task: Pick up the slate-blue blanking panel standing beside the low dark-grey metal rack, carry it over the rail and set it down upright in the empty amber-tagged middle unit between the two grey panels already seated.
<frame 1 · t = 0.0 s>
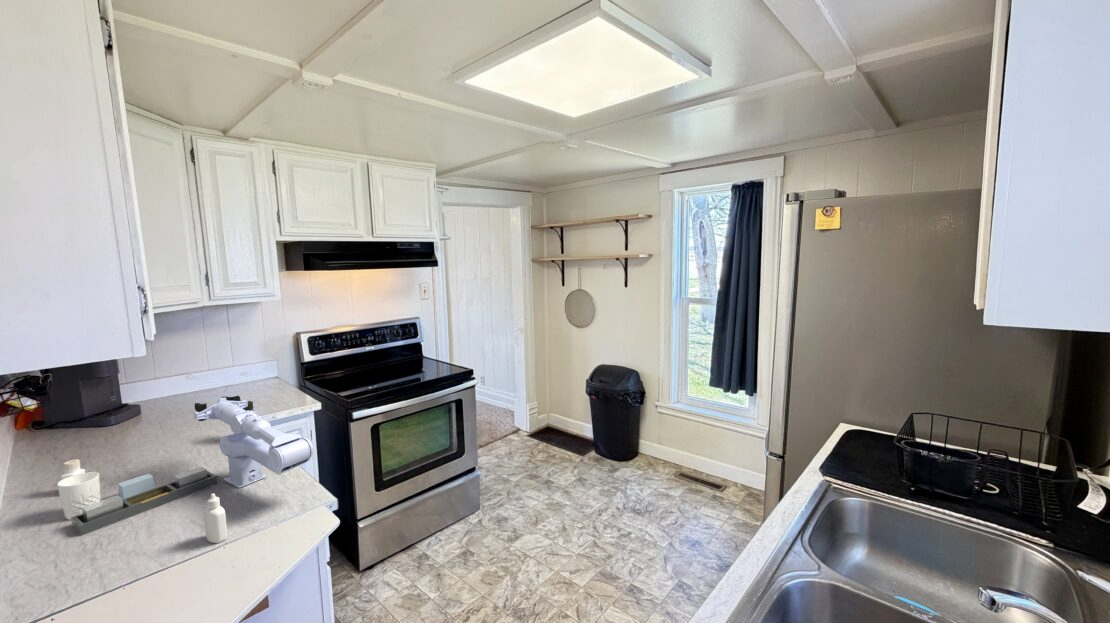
hand: (209, 402, 150), 22 cm above the countertop, tool horizontal, fingers open, 7 cm apart
eye dropper bottle: (216, 539, 113), on the countertop
salt shaker: (75, 492, 134), on the countertop
deodorant: (246, 441, 171), on the countertop
panel: (137, 494, 133), on the countertop
white cup: (83, 513, 124), on the countertop
rack: (151, 503, 129), on the countertop
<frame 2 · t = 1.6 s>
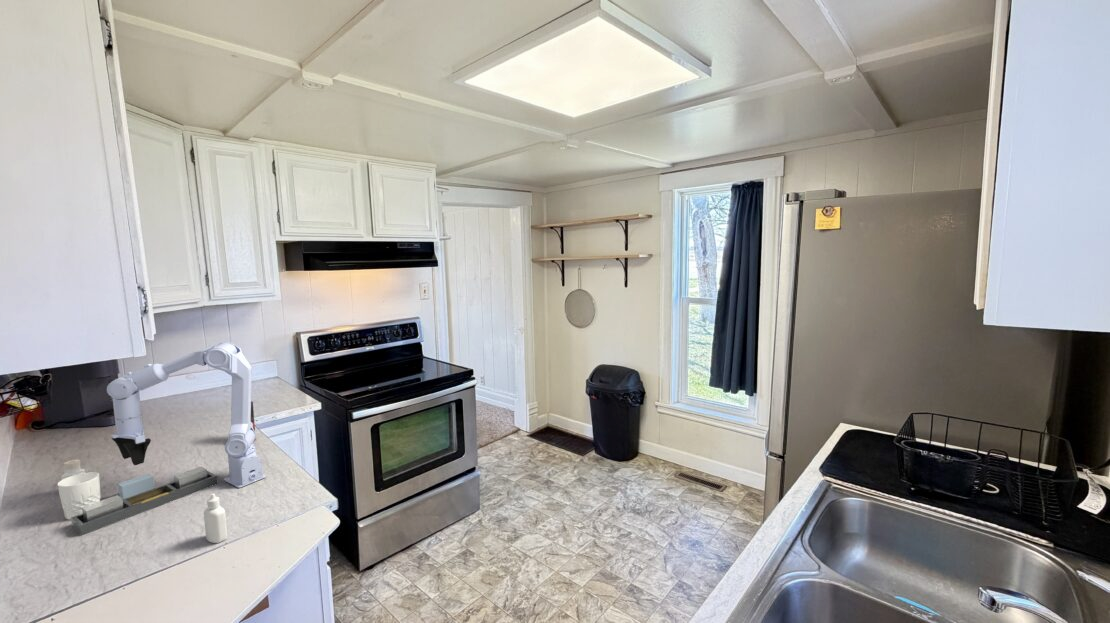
hand: (133, 460, 132), 10 cm above the countertop, tool pointing down, fingers open, 7 cm apart
nothing on the countertop moved.
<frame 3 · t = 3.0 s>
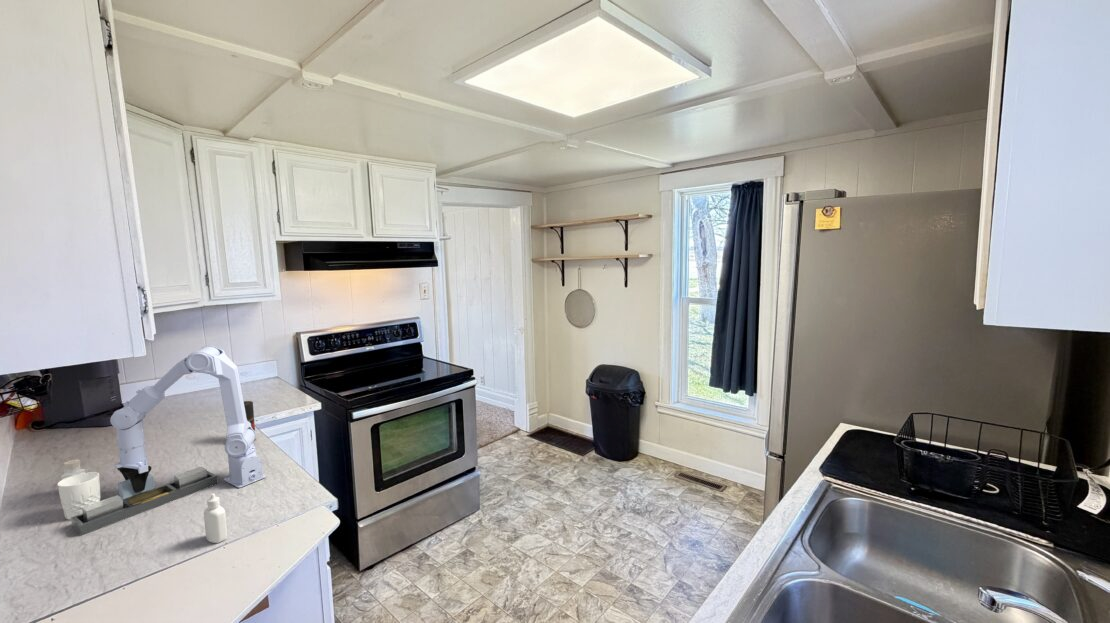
hand: (136, 489, 133), 1 cm above the countertop, tool pointing down, fingers closed on panel, 4 cm apart
panel: (137, 493, 133), on the countertop, touching gripper
everything else where it was.
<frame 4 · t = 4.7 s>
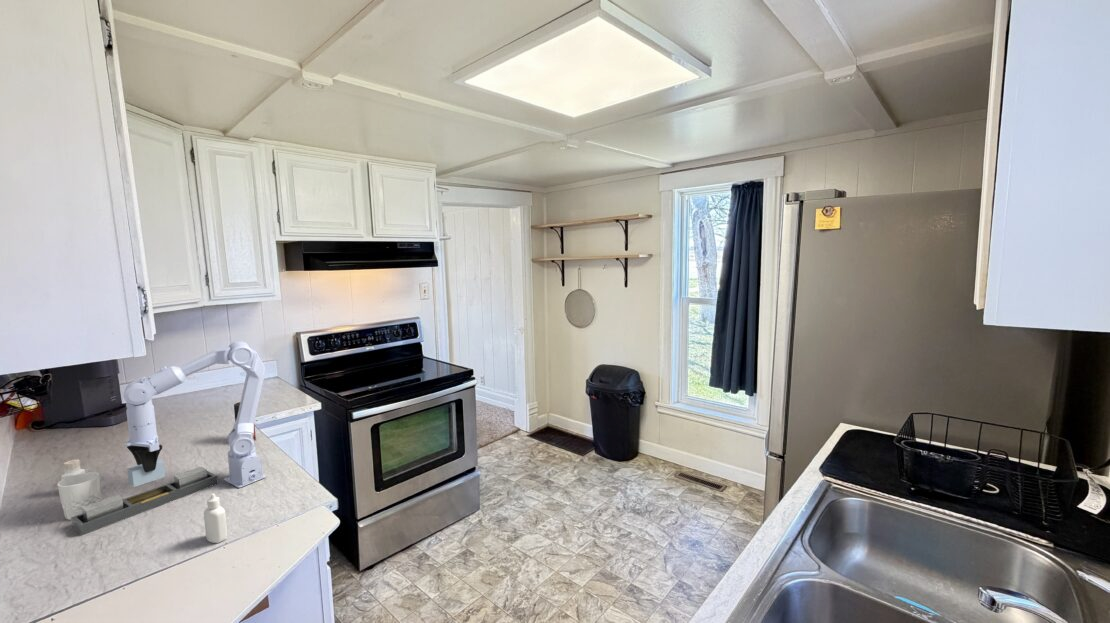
hand: (147, 469, 127), 10 cm above the countertop, tool pointing down, fingers closed on panel, 3 cm apart
panel: (147, 480, 128), point 7 cm above the countertop, touching gripper
everything else where it was.
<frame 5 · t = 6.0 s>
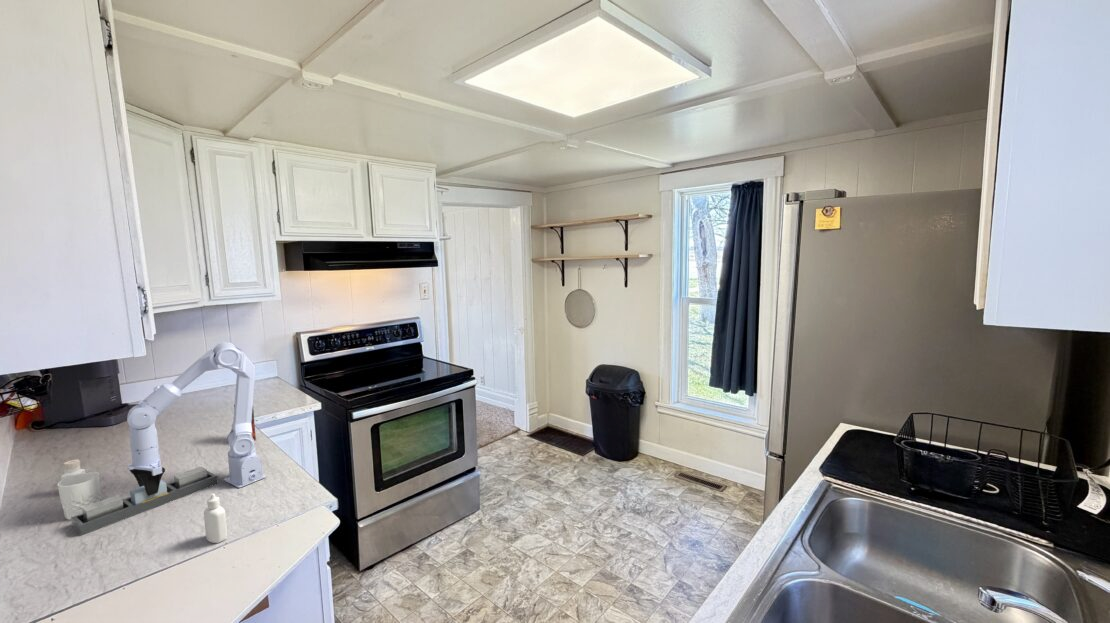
hand: (149, 491, 128), 4 cm above the countertop, tool pointing down, fingers closed on panel, 3 cm apart
panel: (149, 501, 128), point 1 cm above the countertop, touching gripper, rack
everything else where it was.
when the fingers open (3 cm above the countertop, at t = 6.5 s): panel stays where it is, resting on rack.
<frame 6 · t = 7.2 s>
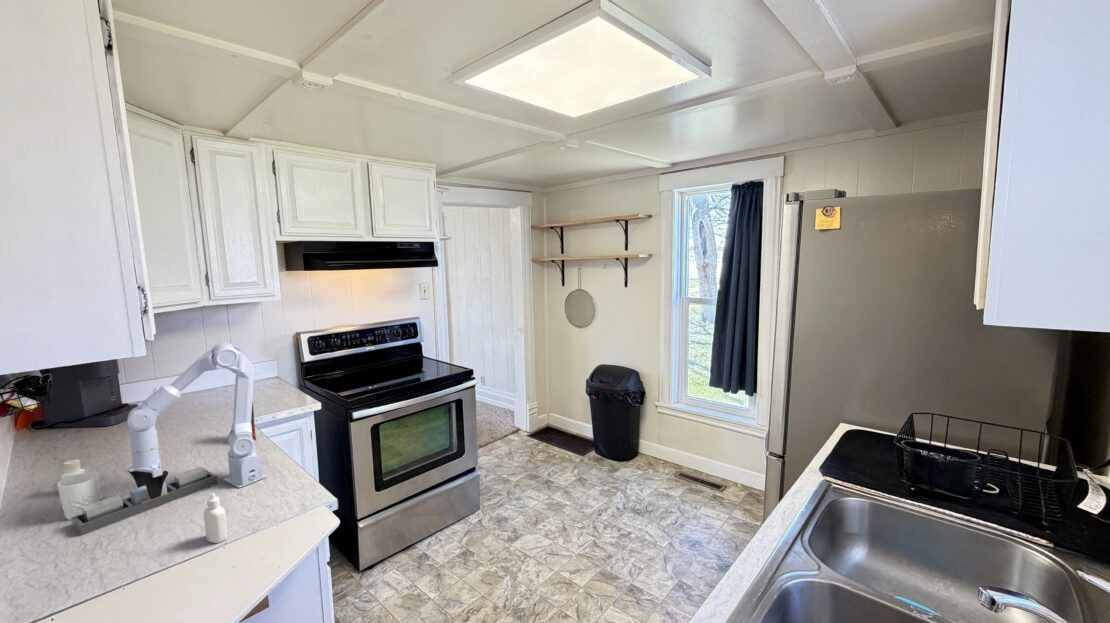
hand: (150, 493, 128), 3 cm above the countertop, tool pointing down, fingers open, 7 cm apart
panel: (149, 501, 128), point 1 cm above the countertop, touching rack
everything else where it was.
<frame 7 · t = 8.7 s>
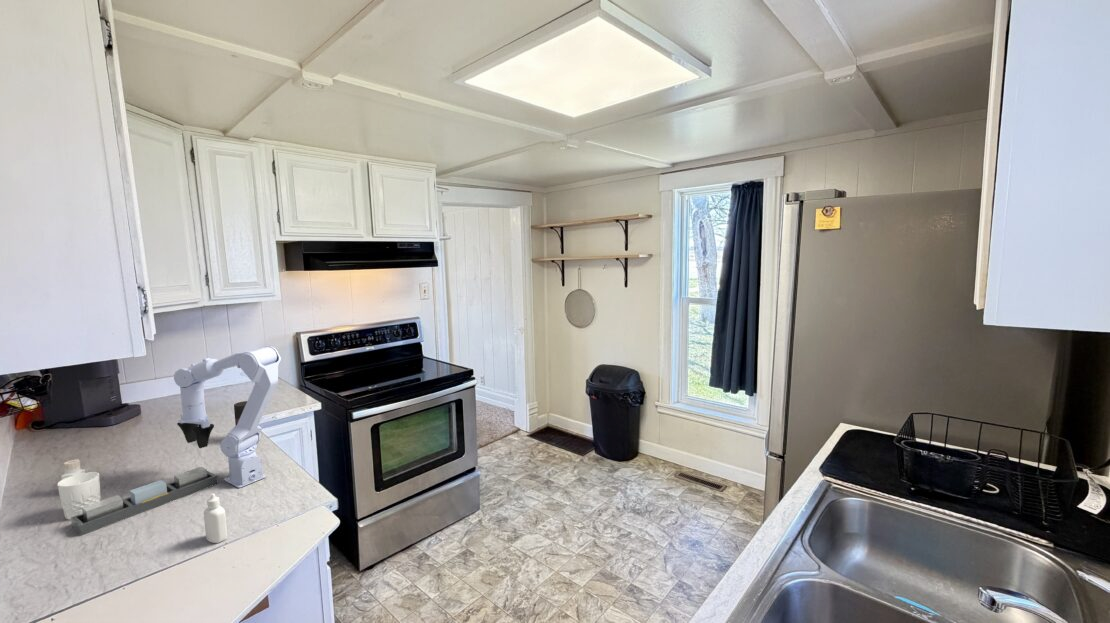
hand: (197, 444, 144), 10 cm above the countertop, tool pointing down, fingers open, 7 cm apart
nothing on the countertop moved.
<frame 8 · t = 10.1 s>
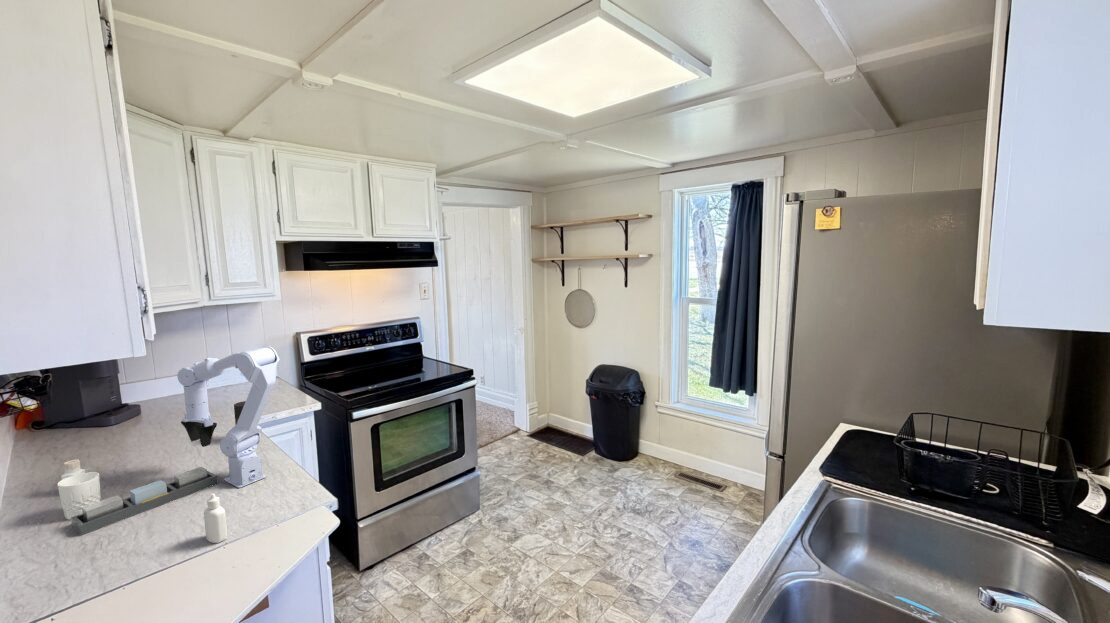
hand: (200, 442, 145), 10 cm above the countertop, tool pointing down, fingers open, 7 cm apart
nothing on the countertop moved.
at the end: panel inside the target area on the rack (0.2 cm from its centre), point 0.7 cm above the rack's base; panel tilted 0°; the gripper is holding nothing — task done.
